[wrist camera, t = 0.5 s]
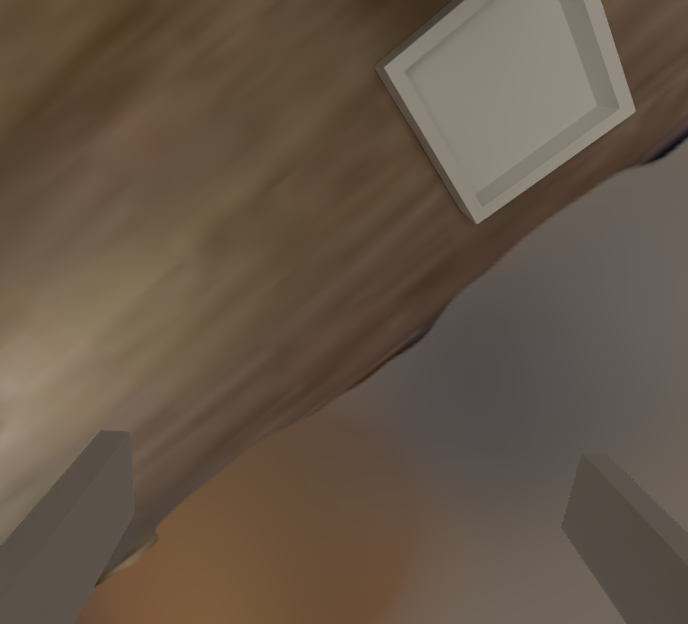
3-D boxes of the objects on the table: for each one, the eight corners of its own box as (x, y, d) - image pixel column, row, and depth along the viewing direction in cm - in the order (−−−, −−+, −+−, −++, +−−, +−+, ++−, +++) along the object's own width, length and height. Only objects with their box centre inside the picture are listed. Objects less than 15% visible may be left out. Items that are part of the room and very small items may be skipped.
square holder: (373, 66, 33) (383, 67, 30) (542, -76, 30) (572, -90, 27) (461, 211, 39) (477, 224, 36) (605, 107, 36) (635, 111, 33)
